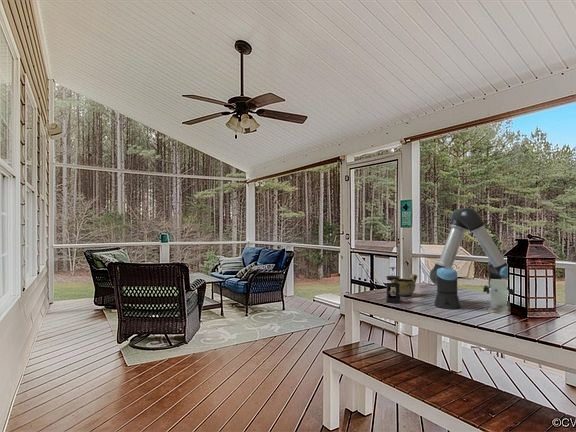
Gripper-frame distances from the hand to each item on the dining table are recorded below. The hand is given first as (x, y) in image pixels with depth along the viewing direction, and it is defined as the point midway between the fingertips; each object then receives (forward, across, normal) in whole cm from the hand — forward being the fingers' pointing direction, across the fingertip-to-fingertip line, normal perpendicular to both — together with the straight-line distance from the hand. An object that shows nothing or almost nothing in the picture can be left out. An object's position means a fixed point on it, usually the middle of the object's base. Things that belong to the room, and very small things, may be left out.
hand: (499, 293), depth 204 cm
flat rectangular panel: (-5, 0, -9) cm, 10 cm away
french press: (-8, +61, -12) cm, 63 cm away
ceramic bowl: (-34, +58, -12) cm, 69 cm away
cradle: (-5, 0, -12) cm, 13 cm away
